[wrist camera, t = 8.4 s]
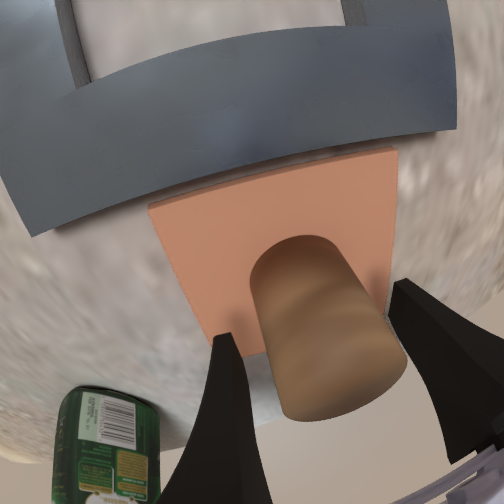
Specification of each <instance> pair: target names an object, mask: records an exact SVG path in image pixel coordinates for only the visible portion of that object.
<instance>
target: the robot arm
mask: <svg viewBox="0 0 504 504" xmlns="http://www.w3.org/2000/svg"><path fill="white" fill-rule="evenodd" d="M388 317H389V319H390V321H391V323H392V326H393V328H394V330H395V332H396V334H397V336H398V338H399V340H400V341H401V343H402V345H403V346H404V348H405V350H406V351H407V353H408V355H409V356H410V358H411V360H412V361H413V363H414V365H415V366H416V368H417V370H418V372H419V373H420V375H421V377H422V379H423V381H424V383H425V385H426V387H427V389H428V392H429V395H430V397H431V399H432V402H433V405H434V407H435V410H436V413H437V416H438V419H439V422H440V426H441V430H442V433H443V437H444V441H445V446H446V450H447V457H448V459H449V462H450V463H451V465H452V464H454V463H455V462H457V461H459V460H460V459H462V458H464V457H465V456H467V455H468V454H470V453H471V452H473V451H474V450H476V452H477V454H478V455H476V456H475V457H474V458H472V459H470V460H469V461H467V462H466V463H465V464H463V465H461V466H460V467H458V468H457V469H455V470H453V471H452V472H450V473H448V474H447V475H445V476H443V477H442V478H440V479H438V480H436V481H435V482H433V483H431V484H429V485H427V486H426V487H424V488H422V489H420V490H418V491H416V492H414V493H412V494H410V495H408V496H406V497H404V498H402V499H399V500H397V501H395V502H393V503H390V504H424V503H426V502H427V501H429V500H431V499H433V498H435V497H437V496H439V495H440V494H442V493H444V492H445V491H447V490H449V489H450V488H452V487H454V486H455V485H457V484H458V483H460V482H461V481H463V480H465V479H466V478H467V477H469V476H471V475H472V474H474V473H475V472H476V471H477V474H476V476H474V477H472V478H470V479H468V480H466V481H465V482H463V483H461V484H460V485H458V486H457V487H455V488H454V489H453V490H451V491H450V492H448V493H447V494H446V498H447V500H445V501H444V502H442V503H440V504H504V339H502V338H500V337H498V336H496V335H494V334H492V333H490V332H488V331H486V330H484V329H482V328H480V327H478V326H476V325H475V324H473V323H472V322H470V321H468V320H467V319H465V318H464V317H462V316H460V315H459V314H457V313H456V312H454V311H453V310H451V309H450V308H448V307H447V306H445V305H444V304H443V303H441V302H440V301H438V300H437V299H436V298H434V297H433V296H431V295H430V294H429V293H427V292H426V291H424V290H423V289H422V288H420V287H419V286H417V285H416V284H415V283H413V282H412V281H410V280H409V279H407V278H405V279H402V280H399V281H396V282H394V285H393V292H392V297H391V303H390V308H389V313H388ZM155 504H273V503H272V499H271V496H270V492H269V489H268V486H267V482H266V478H265V475H264V471H263V467H262V463H261V459H260V455H259V451H258V447H257V443H256V437H255V430H254V423H253V415H252V407H251V399H250V391H249V384H248V379H247V375H246V371H245V366H244V362H243V359H242V357H241V355H240V352H239V350H238V348H237V345H236V343H235V341H234V338H233V336H232V333H231V332H228V333H224V334H220V335H216V336H214V337H213V344H212V353H211V360H210V366H209V371H208V376H207V381H206V385H205V390H204V394H203V397H202V401H201V405H200V408H199V412H198V415H197V418H196V421H195V424H194V427H193V430H192V432H191V435H190V438H189V440H188V442H187V445H186V447H185V450H184V452H183V454H182V456H181V459H180V461H179V463H178V465H177V467H176V468H175V470H174V473H173V474H172V476H171V478H170V480H169V482H168V484H167V485H166V487H165V488H164V490H163V492H162V493H161V495H160V496H159V498H158V499H157V501H156V503H155Z"/></svg>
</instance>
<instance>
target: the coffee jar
mask: <svg viewBox="0 0 504 504" xmlns="http://www.w3.org/2000/svg"><path fill="white" fill-rule="evenodd" d="M160 495H161V489H160V435H159V417H158V415H157V413H156V411H154V410H153V409H152V408H150V407H148V406H147V405H145V404H143V403H141V402H139V401H138V400H136V399H134V398H132V397H129V396H127V395H124V394H121V393H117V392H113V391H110V390H96V389H86V388H76V389H73V390H72V391H70V392H69V393H68V394H67V396H66V397H65V398H64V399H63V401H62V403H61V406H60V409H59V415H58V421H57V428H56V436H55V447H54V461H53V477H52V504H155V503H156V501H157V499H158V498H159V496H160Z"/></svg>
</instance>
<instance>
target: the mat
mask: <svg viewBox="0 0 504 504" xmlns="http://www.w3.org/2000/svg"><path fill="white" fill-rule="evenodd" d="M397 184H398V150H397V149H395V148H393V147H385V148H379V149H373V150H367V151H362V152H356V153H351V154H345V155H340V156H335V157H330V158H325V159H320V160H315V161H311V162H306V163H301V164H297V165H292V166H288V167H283V168H279V169H275V170H271V171H267V172H262V173H258V174H254V175H250V176H246V177H243V178H239V179H235V180H231V181H227V182H224V183H220V184H216V185H213V186H209V187H205V188H202V189H198V190H195V191H192V192H188V193H185V194H181V195H178V196H175V197H171V198H168V199H165V200H162V201H159V202H155V203H152V204H149V206H148V209H147V211H148V214H149V216H150V219H151V221H152V223H153V226H154V228H155V230H156V233H157V235H158V237H159V239H160V242H161V244H162V246H163V249H164V251H165V253H166V255H167V257H168V260H169V262H170V264H171V266H172V268H173V271H174V273H175V275H176V277H177V279H178V281H179V283H180V285H181V288H182V290H183V292H184V294H185V296H186V298H187V300H188V302H189V304H190V306H191V308H192V310H193V312H194V314H195V316H196V318H197V320H198V322H199V324H200V326H201V328H202V330H203V332H204V334H205V336H206V337H207V339H208V341H209V343H210V345H211V347H212V344H213V337H214V336H216V335H220V334H224V333H228V332H231V333H232V336H233V338H234V341H235V343H236V345H237V348H238V350H239V352H240V355H241V357H242V358H244V357H248V356H252V355H255V354H259V353H263V352H267V351H266V347H265V344H264V340H263V336H262V332H261V328H260V325H259V321H258V317H257V313H256V309H255V305H254V302H253V298H252V294H251V290H250V281H249V280H250V274H251V271H252V269H253V267H254V265H255V263H256V262H257V260H258V259H259V258H260V256H261V255H262V254H263V253H264V252H265V251H266V250H267V249H269V248H270V247H272V246H273V245H275V244H276V243H278V242H280V241H282V240H284V239H287V238H290V237H294V236H298V235H316V236H320V237H324V238H326V239H328V240H330V241H331V242H333V243H334V244H335V245H336V246H337V248H338V249H339V251H340V252H341V253H342V255H343V256H344V258H345V259H346V261H347V262H348V264H349V265H350V267H351V268H352V270H353V271H354V273H355V274H356V276H357V277H358V279H359V280H360V282H361V283H362V285H363V286H364V288H365V290H366V291H367V293H368V294H369V296H370V297H371V299H372V300H373V302H374V304H375V305H376V307H377V308H378V310H379V312H380V313H381V315H383V314H384V309H385V303H386V297H387V291H388V284H389V277H390V270H391V262H392V253H393V244H394V233H395V221H396V206H397Z"/></svg>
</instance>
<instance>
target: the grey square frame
mask: <svg viewBox="0 0 504 504" xmlns="http://www.w3.org/2000/svg"><path fill="white" fill-rule="evenodd" d="M341 3H342V7H343V12H344V17H345V22H346V26H323V27H306V28H294V29H284V30H275V31H268V32H261V33H254V34H248V35H242V36H237V37H232V38H227V39H222V40H217V41H213V42H208V43H204V44H200V45H196V46H192V47H189V48H185V49H181V50H178V51H174V52H171V53H168V54H165V55H161V56H158V57H155V58H152V59H149V60H146V61H144V62H141V63H138V64H135V65H133V66H130V67H127V68H125V69H122V70H120V71H117V72H115V73H112V74H110V75H107V76H105V77H103V78H101V79H98V80H96V81H94V82H92V83H91V80H90V77H89V73H88V70H87V67H86V63H85V59H84V56H83V52H82V48H81V44H80V40H79V36H78V32H77V28H76V24H75V20H74V15H73V11H72V6H71V1H70V0H0V176H1V178H2V180H3V182H4V185H5V187H6V189H7V191H8V193H9V195H10V197H11V199H12V201H13V203H14V205H15V207H16V209H17V211H18V213H19V215H20V217H21V219H22V221H23V223H24V225H25V226H26V228H27V230H28V232H29V234H30V235H31V237H34V236H37V235H39V234H41V233H43V232H46V231H48V230H51V229H53V228H55V227H58V226H60V225H63V224H65V223H68V222H70V221H73V220H75V219H78V218H80V217H83V216H85V215H88V214H91V213H93V212H96V211H99V210H101V209H104V208H107V207H110V206H112V205H115V204H118V203H121V202H124V201H127V200H130V199H132V198H135V197H138V196H141V195H144V194H147V193H151V192H154V191H157V190H160V189H163V188H166V187H169V186H173V185H176V184H179V183H183V182H186V181H189V180H193V179H196V178H200V177H203V176H207V175H210V174H214V173H217V172H221V171H225V170H229V169H232V168H236V167H240V166H244V165H248V164H252V163H256V162H260V161H265V160H269V159H273V158H277V157H282V156H286V155H291V154H296V153H300V152H305V151H310V150H315V149H320V148H325V147H330V146H336V145H341V144H347V143H353V142H359V141H365V140H371V139H378V138H385V137H392V136H399V135H407V134H415V133H424V132H433V131H443V130H454V129H456V127H457V89H456V69H455V56H454V46H453V37H452V30H451V23H450V17H449V11H448V5H447V0H341Z"/></svg>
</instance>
